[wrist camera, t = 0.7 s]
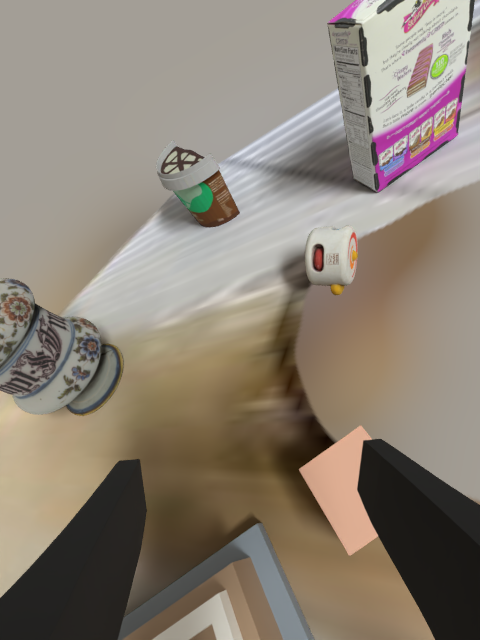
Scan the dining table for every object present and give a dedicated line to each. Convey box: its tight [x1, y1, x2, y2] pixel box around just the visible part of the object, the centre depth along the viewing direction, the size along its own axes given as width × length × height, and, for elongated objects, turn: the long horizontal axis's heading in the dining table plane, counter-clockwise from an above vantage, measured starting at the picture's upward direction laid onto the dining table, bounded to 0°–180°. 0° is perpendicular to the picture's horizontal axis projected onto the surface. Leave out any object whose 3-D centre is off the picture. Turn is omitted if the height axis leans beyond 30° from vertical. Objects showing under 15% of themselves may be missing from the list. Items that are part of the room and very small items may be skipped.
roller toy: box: [305, 225, 358, 295], centre depth 30 cm, size 4×6×6 cm
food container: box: [156, 140, 240, 227], centre depth 44 cm, size 12×6×10 cm, turn 37°
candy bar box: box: [327, 0, 475, 192], centre depth 30 cm, size 11×5×16 cm, turn 116°
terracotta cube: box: [299, 425, 378, 556], centre depth 20 cm, size 5×5×5 cm
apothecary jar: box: [0, 279, 123, 416], centre depth 33 cm, size 12×12×18 cm
